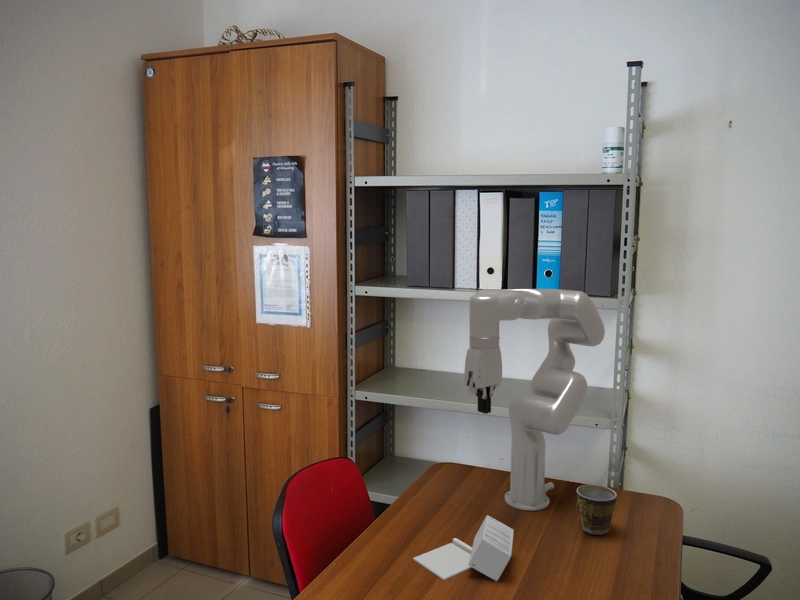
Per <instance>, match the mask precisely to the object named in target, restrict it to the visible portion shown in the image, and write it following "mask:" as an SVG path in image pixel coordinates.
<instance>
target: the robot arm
mask: <svg viewBox="0 0 800 600" xmlns="http://www.w3.org/2000/svg"><path fill="white" fill-rule="evenodd" d="M518 319H521V320H522V319H523V320H543V319H544V320H547V319H548V320H549V319H550V320H549V322H548V326H547V334H548V335H547V337H548V352H547V355H546V356H545V358H544V360H543V361H542V363H541V364H540V366H539V367H538V369H537V370H536V372H535V374H534V375H533V377H532V379H531V382H530V391H531V393H529V392H520V393H517V394H514V396H513V397H512V398H511V399H510V401H509V404H508V417H509V423H510V424H509V425H510V431H511V433H510V434H511V447H510V448H511V450H510V484H509V485H510V487H509V489H510V490H508V491H507V492H506V493H505V494H504V501H505V503H506V504H507V505H508V506H510V507H512V508H515V509H517V510H521V511H530V512H531V511H541V510H544V509H546V508H548V507H549V505H550V498H549V496H548V495H547V492H548V491H550V490H552V489H554V488H555V484H554V483H553V482H552V481H549V482H547V483H545V478H546V477H545V475H546V469H545V467H546V439H545V436H544V434H543V433H546V434H550V435H554V436H555V435H557V436H559V435H562V434H564V433H565V432H566V431H567V430H568V428H569V427H570V425H571V423H572V422H573V420H574V418H575V417H576V415H577V414H578V411H579V410H580V408H581V407H582V405H583V403H584V402H585V398H586V397H587V392H588V383H587V379H586V377H585V376H584V375H583V374H581V373H580V372H577V371H574V368H575V366H576V359H575V356H574V353H573V351H572V349H571V346H570V344H571V345H572V344H573V345H578V346H584V347H585V346H586V347H597V346H599V345H600V344H601V343H602V342H603V341H604V338H605V332H606V331H605V325H604V322H603V319H602V318H601V316H600V314H599V312H598V310H597V308H596V306H595V304H594V302H593V300H592V299H591V298H590V297H589V295H588V294H587V293H585V292H583V291H580V290H571V289H561V288H559V289H558V288H516V289H513V288H512V289H511V288H510V289H505V288H503V289H502V288H501V289H499V288H483V289H482V288H481V289H480V290H478V291H477V292H476V293H475V294H473V295H471V296H470V297H469V347H468V348H467V350H466V354H465V355H466V356H465V362H464V377H463V379H464V380H463V381H464V385H465V386H466V387H468V393H470V394H473V395H475V397H476V398H477V412H478V413H482V414H485V415H487V414H490V413H491V412H492V397H493V396H494V391H495V389H497V388H499V387H500V385H501V384H500V383H501V382H502V380H503V360H502V352H501V347H500V338H501V337H500V322H501V321H507V322H508V321H509V322H510V321H516V320H518Z"/></svg>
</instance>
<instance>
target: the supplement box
mask: <svg viewBox="0 0 800 600" xmlns="http://www.w3.org/2000/svg"><path fill="white" fill-rule="evenodd" d="M514 531H515V530H514V529H513V528H511V527H510V526H507V525H506V524H504V523H503V522H501V521H499V520H497V519H495V518H493V517H492V516H489V515H488V514H487V515H486V516H485V518H484V520H483V522H482V523H481V525H480V527H479V528H478V531H477V533H476V534H475V535H474V538H473V543H472V546H471V547H472V551H471V556H470V560H469V566H471V567H472V568H471V569H474V570H475V571H477V572H479V573H481V574H483V575H485V576H486V577H488V578H490V579H492V580H493V581H495V582H498V580H499V579H500V577H501V575H502V573H503V572H504V570H505V568H506V566H507V565H508V563H509V562H510V559H511V557H512V553H513V552H512V551H513V543H514Z"/></svg>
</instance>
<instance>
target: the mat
mask: <svg viewBox="0 0 800 600" xmlns="http://www.w3.org/2000/svg"><path fill="white" fill-rule="evenodd" d="M470 556H471V554H469V553H467V552H466V551H464V550H462V549H461V548H459V547H457V546H456V545H454V544H453V542H450V543H447V544H445V545H442V546H440V547H438V548H435V549H432V550H430V551H428V552H425V553H422V554H420V555H417V556H414V557H413V558H412V560H413V561H415V562H416V563H418V564H419V565H421V566H422V567H424V568H425V569H426V570H428V571H429V572H431V573H433V574H434V575H435V576H437V577H439V578H440V579H441V580H443V581H446V580H448V579H450V578H452V577H455V576H457V575H460V574H461V573H464V572H466V571H468V570H470V569H473V568H472V567H471V566H469V560H470Z"/></svg>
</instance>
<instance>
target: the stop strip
mask: <svg viewBox="0 0 800 600" xmlns="http://www.w3.org/2000/svg"><path fill="white" fill-rule="evenodd" d="M452 544H454V545H456V546H457V547H459V548H461V549H462V550H464V551H466V552H467V553H469V554H471V551H472V547H473V546H470V545H468V544H467V543H466V542H463V541H462V540H460V539H458V538H457V537H454V538H452Z"/></svg>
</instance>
